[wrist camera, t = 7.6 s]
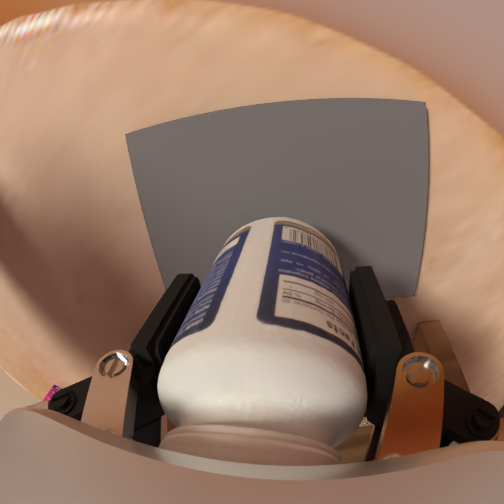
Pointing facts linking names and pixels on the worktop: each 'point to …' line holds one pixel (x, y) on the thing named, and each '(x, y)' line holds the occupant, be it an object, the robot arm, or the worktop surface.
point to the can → (501, 412)
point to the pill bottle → (267, 354)
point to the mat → (290, 182)
